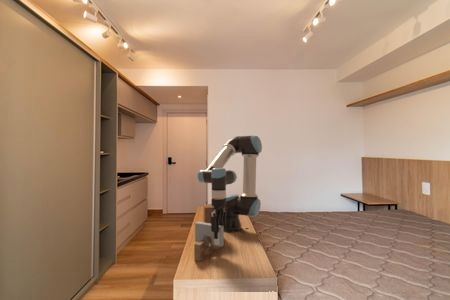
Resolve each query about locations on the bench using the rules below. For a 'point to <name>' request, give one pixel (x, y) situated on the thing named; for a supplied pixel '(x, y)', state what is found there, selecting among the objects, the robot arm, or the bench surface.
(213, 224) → the robot arm
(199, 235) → the notched plate
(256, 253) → the bench surface
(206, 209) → the wooden block
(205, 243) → the slotted beam
